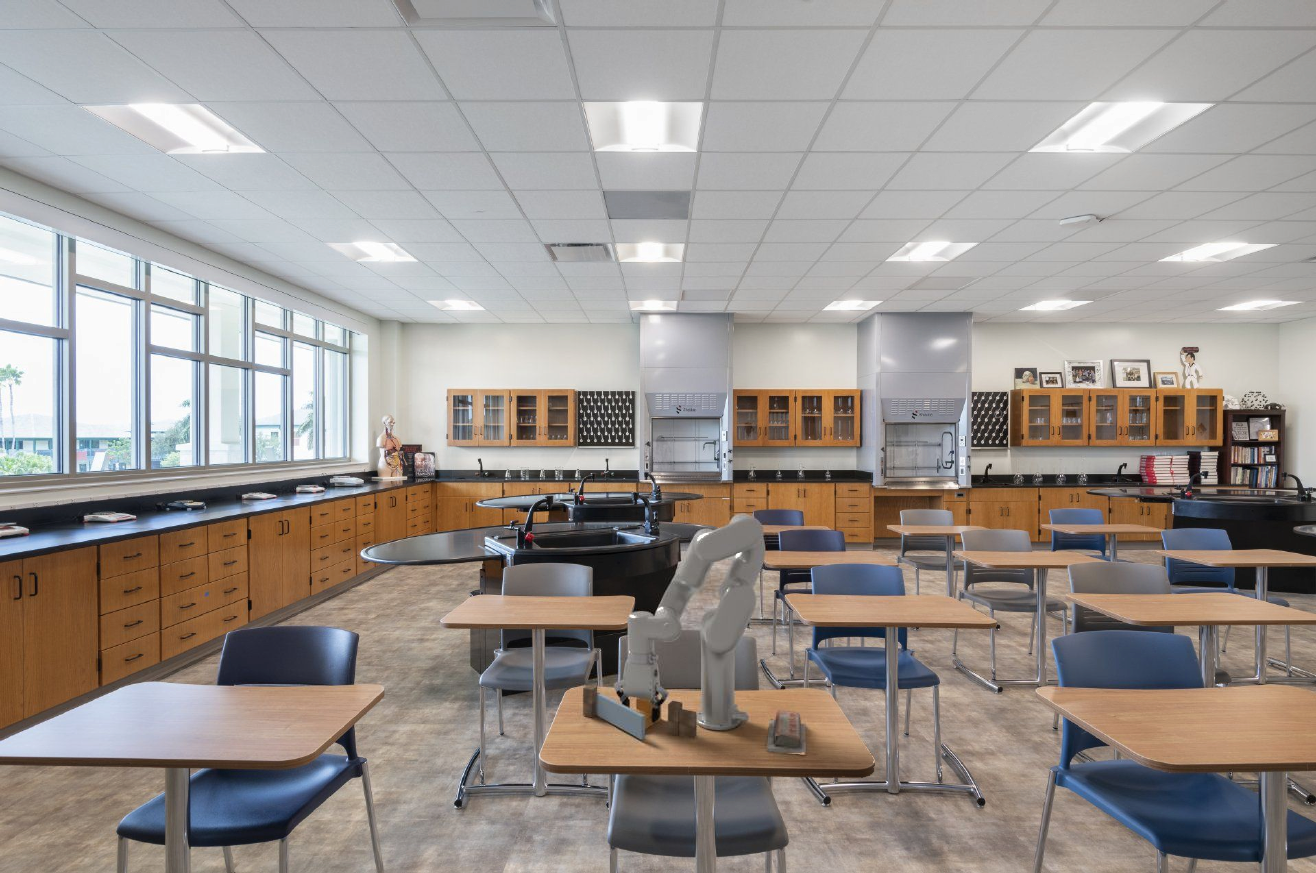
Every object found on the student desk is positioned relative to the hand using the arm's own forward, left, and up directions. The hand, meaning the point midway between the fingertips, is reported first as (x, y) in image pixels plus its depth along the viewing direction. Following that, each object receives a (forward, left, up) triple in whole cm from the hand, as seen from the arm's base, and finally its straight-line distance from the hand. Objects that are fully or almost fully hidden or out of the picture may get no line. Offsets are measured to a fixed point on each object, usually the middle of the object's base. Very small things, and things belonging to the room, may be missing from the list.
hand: (640, 717), depth 179 cm
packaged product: (-40, -8, -2) cm, 41 cm away
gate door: (+4, +6, -1) cm, 7 cm away
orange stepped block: (0, 0, -2) cm, 2 cm away
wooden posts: (+1, +2, -1) cm, 2 cm away
